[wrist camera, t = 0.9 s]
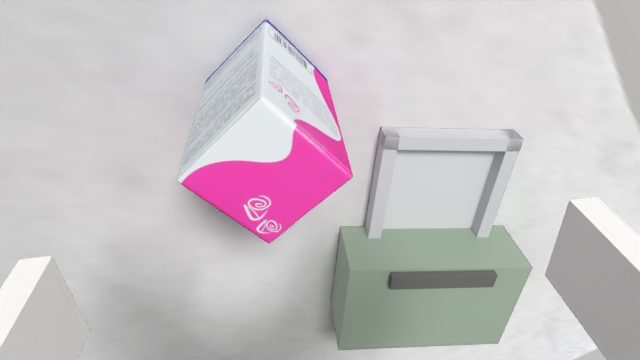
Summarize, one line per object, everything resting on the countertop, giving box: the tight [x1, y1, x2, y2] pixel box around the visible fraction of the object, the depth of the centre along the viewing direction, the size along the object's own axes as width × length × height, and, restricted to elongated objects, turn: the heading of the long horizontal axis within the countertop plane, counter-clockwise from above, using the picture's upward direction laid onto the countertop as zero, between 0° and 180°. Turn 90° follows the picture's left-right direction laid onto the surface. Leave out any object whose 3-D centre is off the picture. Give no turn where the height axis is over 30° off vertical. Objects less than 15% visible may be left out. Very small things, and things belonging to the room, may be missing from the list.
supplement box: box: [176, 19, 353, 243], centre depth 24 cm, size 6×6×12 cm
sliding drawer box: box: [331, 127, 532, 350], centre depth 35 cm, size 14×18×6 cm
